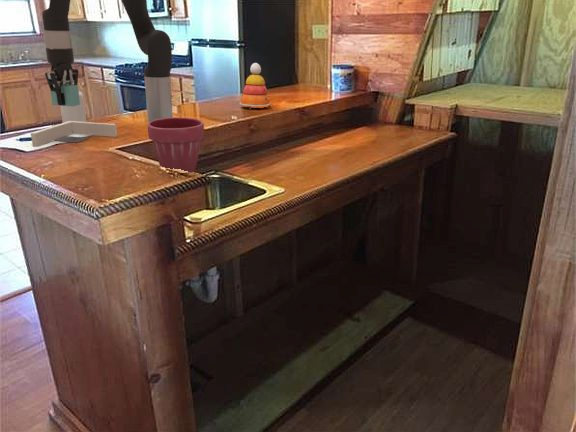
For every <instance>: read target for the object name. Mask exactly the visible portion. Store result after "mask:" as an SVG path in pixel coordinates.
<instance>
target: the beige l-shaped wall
mask: <svg viewBox="0 0 576 432" xmlns="http://www.w3.org/2000/svg"><path fill="white" fill-rule="evenodd" d="M72 134H73V135H81V136H82V135H83V136H84V135H85V136H86V135H87V136H96V137H97V136H100V137H109V138H111V137H112V138H116V137H117V136H118V131H117V123H116V124H115V123H105V122H104V123H103V122H90V121H89V122H88V121H86V122H79V121H68V122H64V123H63V122H61V123H59V124H56V125H52V126H49V127H46V128H42V129H39V130H36V131H33V132H30V138H31V144H32V147H39V145H40V146H42V144H43V145H45V144H48V143H50V142H55V141H54V140H56V139H59V138H61V137H64V136H71V135H72Z"/></svg>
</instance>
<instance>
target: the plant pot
mask: <svg viewBox="0 0 576 432" xmlns="http://www.w3.org/2000/svg"><path fill="white" fill-rule="evenodd" d="M204 126H205V125H204V121H203V120H201V119H199V118H192V117H184V116H183V117H180V116H179V117H177V116H176V117H174V116H173V118H162V119H156V120H153V121H150V122H149V123H148V122H147V134H148V135H147V137H148V139H149V140H151V141H152V143H153V147H154V150H155V151H154V152H155V155H156V157H157V160H158V164H159V166H162V167H165V168H170V169H173V168H174V169H181V170H184V171H188V172H190V173H193V172H195V171H196V169H197V162H198V160H199V154H200V148H201V147H200V146H201V140H202V139H203V138H204V137H205V127H204Z"/></svg>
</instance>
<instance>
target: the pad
mask: <svg viewBox="0 0 576 432" xmlns="http://www.w3.org/2000/svg"><path fill="white" fill-rule="evenodd" d="M89 139H90V138H89V137H87V136H86V137H85V136H84V137H83V136H74V135H73V136H71V135H68V136H64V137H61V138H59V139H56V140H54V141H53V142H63V143H64V142H65V143H76V144H77V143H81V142H84V141H86V140H89Z"/></svg>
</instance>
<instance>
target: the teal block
mask: <svg viewBox="0 0 576 432" xmlns="http://www.w3.org/2000/svg"><path fill="white" fill-rule="evenodd" d="M53 87H54V85H53ZM59 88H60V85H59ZM79 92H80V90H79V84H78V85H67V84H65V86H64V96H65V105H58V102H57V95H56V93H55V92H54V91H51V90H50V96H51V105H52V106H59V107H60V106H77V105H80V99H79Z"/></svg>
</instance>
